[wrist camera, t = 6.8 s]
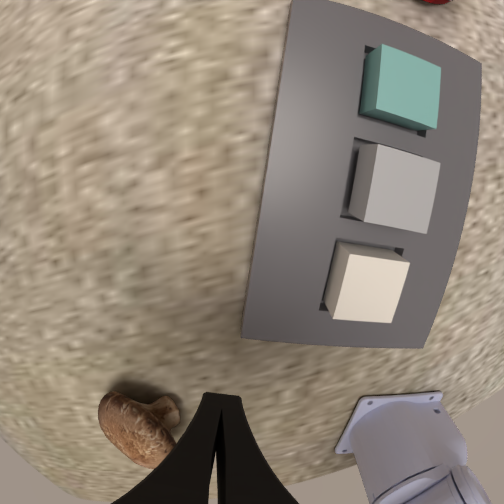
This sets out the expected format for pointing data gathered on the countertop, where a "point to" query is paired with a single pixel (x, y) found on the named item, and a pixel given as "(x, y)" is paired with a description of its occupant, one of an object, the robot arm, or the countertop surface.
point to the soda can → (438, 1)
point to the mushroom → (139, 427)
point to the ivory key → (364, 283)
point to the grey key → (394, 188)
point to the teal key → (400, 89)
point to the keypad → (352, 180)
